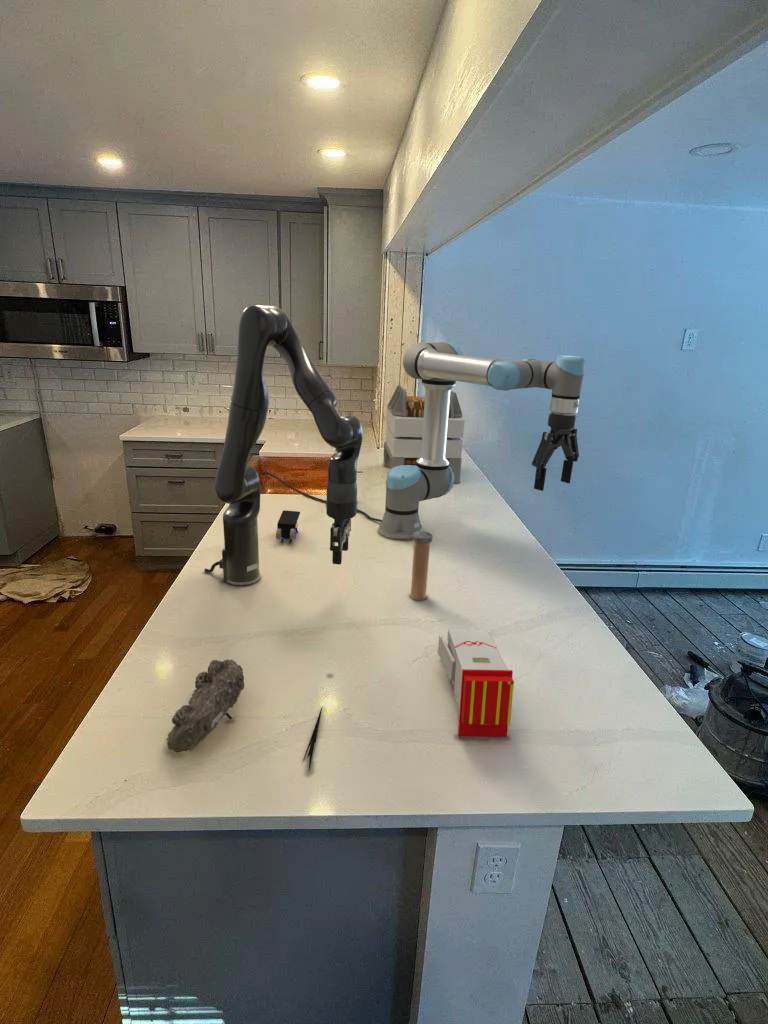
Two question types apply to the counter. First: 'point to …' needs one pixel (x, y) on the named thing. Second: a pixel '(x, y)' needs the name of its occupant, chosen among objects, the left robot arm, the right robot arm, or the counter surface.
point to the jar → (420, 571)
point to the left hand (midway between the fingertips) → (340, 556)
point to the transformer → (419, 431)
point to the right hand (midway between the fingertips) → (552, 485)
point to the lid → (422, 537)
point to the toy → (478, 682)
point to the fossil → (206, 705)
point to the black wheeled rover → (287, 525)
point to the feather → (313, 740)
